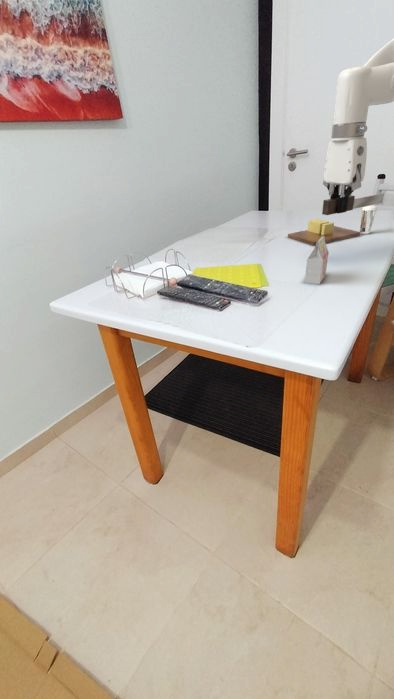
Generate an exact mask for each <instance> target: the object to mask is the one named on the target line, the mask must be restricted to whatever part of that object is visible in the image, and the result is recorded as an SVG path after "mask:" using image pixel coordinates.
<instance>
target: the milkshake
mask: <svg viewBox="0 0 394 699" xmlns="http://www.w3.org/2000/svg"><path fill="white" fill-rule="evenodd" d="M377 210H378V208H377V206H376V205H375V204H374V205H369V206H365V207H361V218H360V228H359V232H360V235H369V234H370V233H371V230H372V227H373V223H374V219H375V216H376V213H377Z"/></svg>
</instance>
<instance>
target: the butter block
mask: <svg viewBox="0 0 394 699" xmlns="http://www.w3.org/2000/svg"><path fill="white" fill-rule="evenodd" d="M326 223H330V221H328V220H323V219H319V218H317V219H312V220H308V223H307V230H308V231H310V232H314V233H317V234H321V231H322V224H326Z"/></svg>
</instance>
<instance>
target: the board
mask: <svg viewBox="0 0 394 699" xmlns="http://www.w3.org/2000/svg"><path fill="white" fill-rule="evenodd" d="M322 236H324V239H325V243H326V244H328V243H333V242H338V241H342V240H346V239H351V238H356V237H360V236H361V233H360V231H358V230H353V229H349V228H345V227H340V226H336V225H334V228H333V233H332V234H328V235H321V234H317V233H314V232H310V231H308V229H305V230H302V231H297V232H292V233H288V234H287V238H289V239H291V240H294V241H298V242H301V243H303V244H307V245H310V246H313V247H315V246H316V243H317V242H318V241H319V240H320V238H321V237H322Z"/></svg>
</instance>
